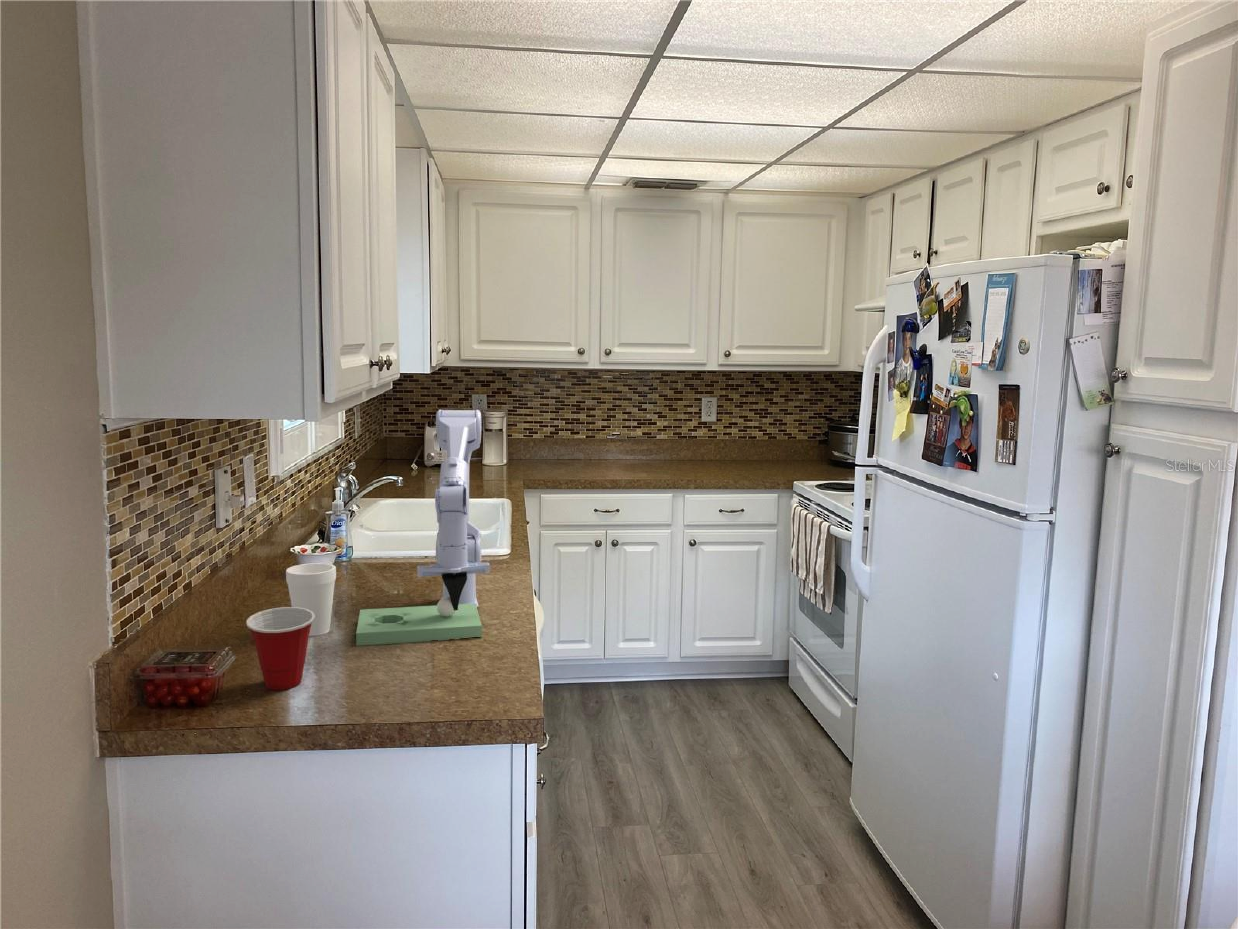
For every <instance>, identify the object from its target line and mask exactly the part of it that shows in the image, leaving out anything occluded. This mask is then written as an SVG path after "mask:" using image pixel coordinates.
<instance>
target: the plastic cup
mask: <svg viewBox="0 0 1238 929" xmlns="http://www.w3.org/2000/svg"><path fill="white" fill-rule="evenodd" d="M314 618H315V615H314V613H313V612H312V611H310V610H308V609H304V608H298V607H292V606H283V607H282V606H281V607H275V608H270V609H269V608H268V609H265V610H261V611H258V612H255V613H254V614H252V615H250V616H249V617H248V618H247V619H246V626H247V628H248V629H249V630H250V632H251V635H252V638H253V641H254V644H255V649H256V653H257V658H258V662H259V667H260V670H261V674H262V677H263V678H262V679H263V682H264V685H265V688H266V689H268V690H274V691H283V690H289V689H294V688H295V687H298V686H299V685H301V683H302V680H303V676H304V667H305V663H306V657H307V651H308V643H309V637H310V636H309V633H310V628H311V624H312V621H313V620H314Z"/></svg>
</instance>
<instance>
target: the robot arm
mask: <svg viewBox="0 0 1238 929" xmlns="http://www.w3.org/2000/svg"><path fill="white" fill-rule="evenodd" d="M435 415H436V416H435V430H436V431H435V432H436V436H437V442H438V444H439V448H440V449H442V450H444V451H446V457H447V458H446V459H445V460H443V461H442V462H441V464H440V465H441V466H440V471H439V472H440V475H439V485H438V488H436V489H435V494H434V503H435V505H434V508H435V511H436V522H437V523H438V531H437V532H436V542H435V561H436V562H435V563H436V564H434V563H433V564H430V565H429V564H428V565H427V564H426V565H417V566H416V568H417V570H416V571H417V578H424V577H433V576H434V577H437V576H439V577H440V576H441V578H442V594H443V595H442V596H441V597H440V600H441V599H442V598H445V597H449V598H451V602H452V606H453V609H454V610H458V604H472V603H476V607H478V606H479V603H478V599H477V595H476V594H477V593H476V592H477V591H476V588H477V587H476V585H477V584H476V574H487V575H488V574H491V572H490V571H491V569H490V568H491V564H490V563H489V562H482V538H481V536H482V535H481V532H480V529H479V528H478V527H476V526H475V525H474V524H472V523H471V522H470V521H469V520H470V519H469V518H470V462H471V456H472V453H473V451H476V450H477V449H480V446H481V445H480V444H481V442H482V441H481V440H482V412H481V411H480V409H476V410H475V409H474V410H472V409H468V410H463V409H462V410H461V409H458V410H457V409H455V410H451V409H438V411H436V414H435ZM479 607H480V606H479Z"/></svg>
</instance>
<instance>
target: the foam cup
mask: <svg viewBox="0 0 1238 929" xmlns="http://www.w3.org/2000/svg"><path fill="white" fill-rule="evenodd" d="M285 578H286V579H285V582H286V584H287V587H288V592H289V593H288V594H289V599H290V603H291V607H298V608H304V609H308V610H310V611H312V612H313V613H314V615H315V618H314V620H313V621H312V624H311V628H310V633H309V637H315V636H321V635H325V634H327V633H328V632H329V631H330V630H331V619H332V612H333V602H334V590H335V583H336V579H337V567H336V566H335V565H334V564H331V563H324V562H318V563H317V562H313V563H312V562H311V563H304V564H297V565H292V566H290V567H287V568H286V571H285Z"/></svg>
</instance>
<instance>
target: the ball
mask: <svg viewBox="0 0 1238 929" xmlns="http://www.w3.org/2000/svg"><path fill="white" fill-rule="evenodd" d="M436 605H437V611H438V613H439V614H440V615H441V616H444V617H449V616H452V615H453V614H454V613H455V611H456V610H454V609H453V606H452V602H451V598H449V597H445V598H442V599H441V598H440V599H439V601H438V602H437V604H436Z"/></svg>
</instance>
